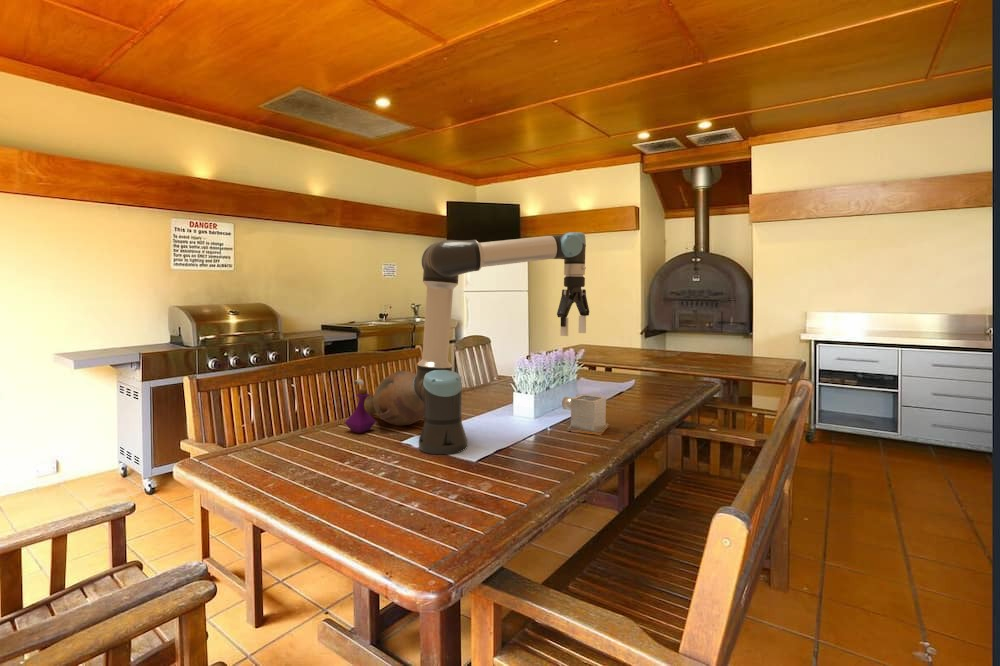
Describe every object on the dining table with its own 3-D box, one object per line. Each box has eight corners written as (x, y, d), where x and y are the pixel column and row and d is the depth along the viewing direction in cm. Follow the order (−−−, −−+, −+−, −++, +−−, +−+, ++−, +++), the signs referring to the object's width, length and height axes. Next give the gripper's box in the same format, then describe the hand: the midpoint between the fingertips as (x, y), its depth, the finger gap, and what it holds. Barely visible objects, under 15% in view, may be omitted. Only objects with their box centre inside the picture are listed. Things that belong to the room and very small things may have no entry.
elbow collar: (605, 425, 182) (606, 397, 181) (594, 431, 175) (594, 402, 174) (570, 419, 190) (571, 392, 189) (558, 424, 183) (558, 396, 182)
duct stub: (566, 431, 178) (567, 405, 177) (576, 423, 189) (576, 398, 188) (600, 435, 173) (601, 409, 172) (608, 427, 184) (609, 401, 183)
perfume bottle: (376, 430, 179) (375, 379, 177) (359, 435, 173) (358, 382, 171) (361, 426, 183) (360, 377, 181) (344, 431, 177) (343, 380, 175)
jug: (440, 425, 186) (387, 425, 204) (441, 371, 189) (388, 376, 208) (396, 425, 170) (343, 425, 189) (397, 366, 174) (345, 372, 192)
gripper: (566, 275, 174) (565, 337, 176) (599, 276, 194) (597, 332, 196) (547, 275, 178) (546, 336, 180) (581, 276, 198) (580, 331, 200)
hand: (573, 334), depth 188 cm, fingers open, 13 cm apart
